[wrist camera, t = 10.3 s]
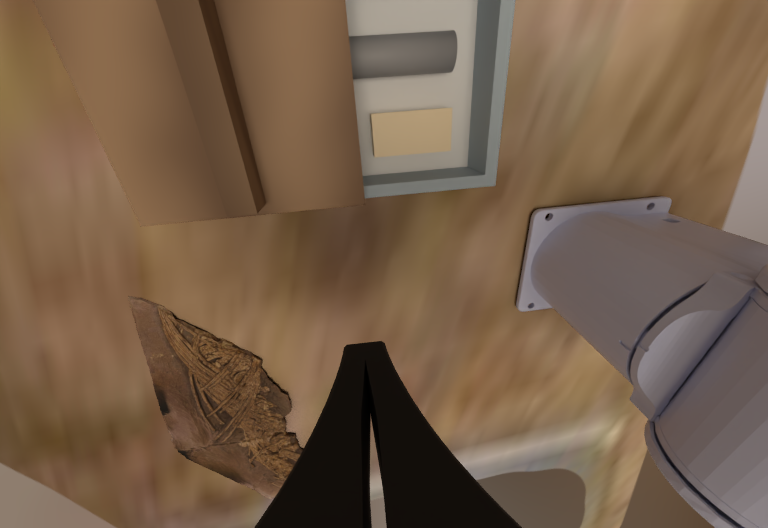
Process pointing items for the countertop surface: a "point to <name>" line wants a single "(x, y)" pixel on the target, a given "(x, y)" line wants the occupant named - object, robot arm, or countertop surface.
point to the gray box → (429, 91)
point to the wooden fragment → (217, 401)
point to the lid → (216, 102)
